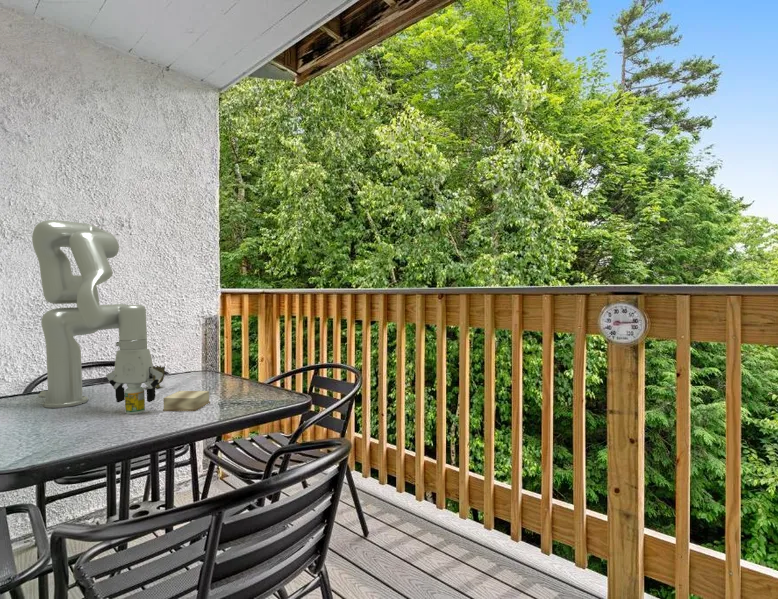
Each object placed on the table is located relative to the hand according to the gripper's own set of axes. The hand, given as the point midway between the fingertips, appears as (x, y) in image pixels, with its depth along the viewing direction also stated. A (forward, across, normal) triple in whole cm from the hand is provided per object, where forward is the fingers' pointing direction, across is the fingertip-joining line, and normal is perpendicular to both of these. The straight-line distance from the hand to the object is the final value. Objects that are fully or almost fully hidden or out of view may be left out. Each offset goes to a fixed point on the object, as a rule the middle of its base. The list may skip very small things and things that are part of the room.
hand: (135, 401), depth 152 cm
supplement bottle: (+4, 0, 0) cm, 4 cm away
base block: (+4, +13, +7) cm, 15 cm away
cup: (+3, -13, +34) cm, 37 cm away
